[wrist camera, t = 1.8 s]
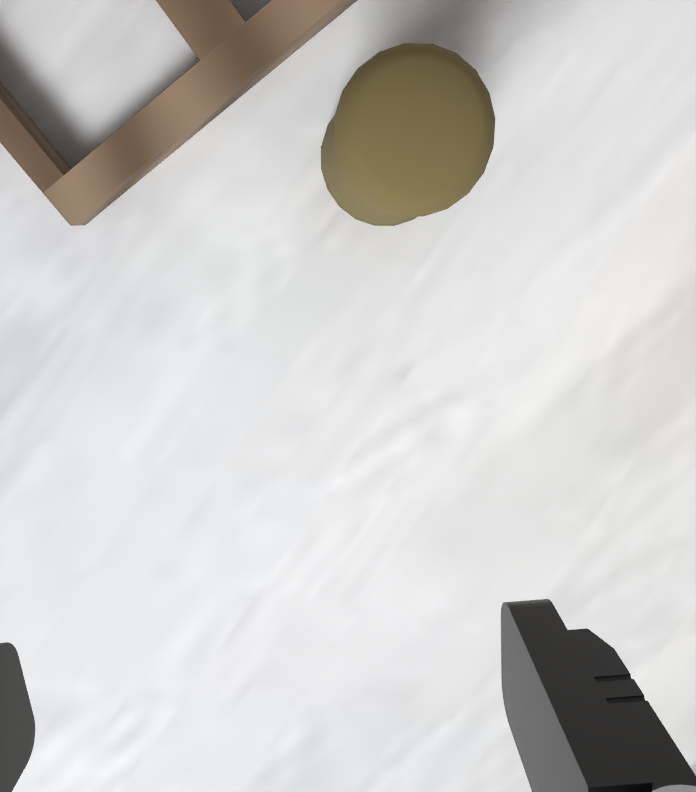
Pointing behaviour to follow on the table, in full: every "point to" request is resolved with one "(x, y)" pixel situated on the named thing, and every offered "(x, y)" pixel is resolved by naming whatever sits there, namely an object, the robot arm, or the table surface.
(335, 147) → the olive pawn figure
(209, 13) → the wooden frame
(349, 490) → the table surface
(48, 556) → the table surface
